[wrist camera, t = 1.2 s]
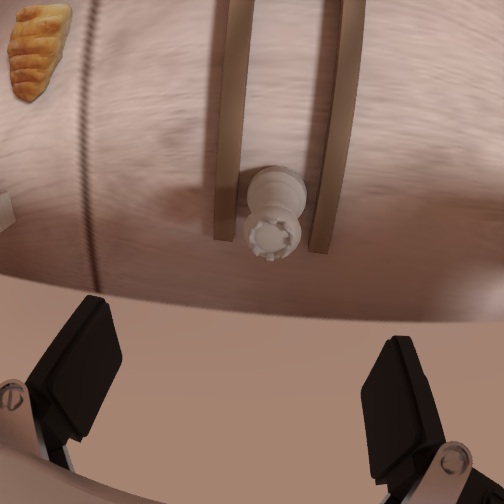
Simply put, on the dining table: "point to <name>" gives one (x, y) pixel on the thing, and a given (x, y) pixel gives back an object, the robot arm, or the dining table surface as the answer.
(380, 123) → the dining table surface
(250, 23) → the guide track
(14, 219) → the white gable top carton
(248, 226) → the rook chess piece
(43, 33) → the pastry
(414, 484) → the robot arm
